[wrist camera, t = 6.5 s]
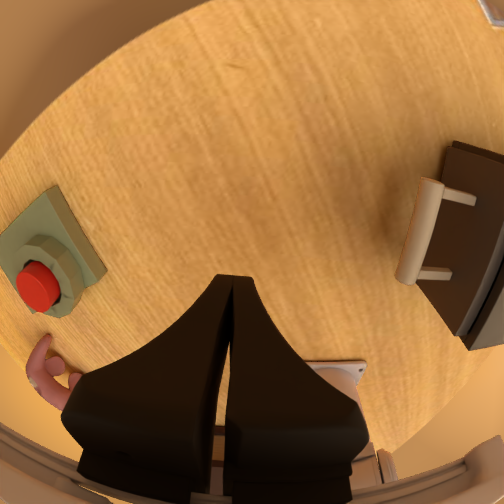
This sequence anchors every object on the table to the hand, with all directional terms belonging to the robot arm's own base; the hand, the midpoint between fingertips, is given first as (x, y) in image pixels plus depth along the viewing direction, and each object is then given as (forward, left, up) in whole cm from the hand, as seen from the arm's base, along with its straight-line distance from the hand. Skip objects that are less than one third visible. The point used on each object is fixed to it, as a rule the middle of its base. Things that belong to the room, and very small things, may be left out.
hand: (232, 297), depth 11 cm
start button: (-5, +15, -6) cm, 17 cm away
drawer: (+2, -17, -8) cm, 19 cm away
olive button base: (-4, +17, -9) cm, 20 cm away
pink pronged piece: (-19, +19, -9) cm, 29 cm away
